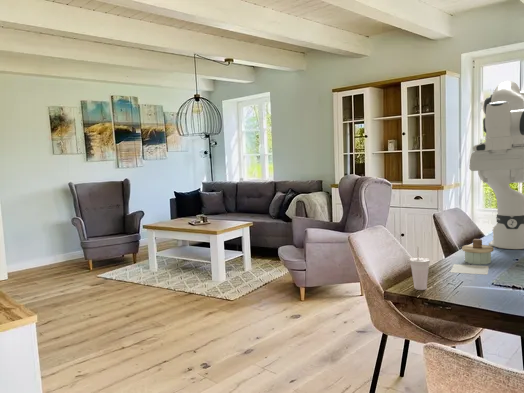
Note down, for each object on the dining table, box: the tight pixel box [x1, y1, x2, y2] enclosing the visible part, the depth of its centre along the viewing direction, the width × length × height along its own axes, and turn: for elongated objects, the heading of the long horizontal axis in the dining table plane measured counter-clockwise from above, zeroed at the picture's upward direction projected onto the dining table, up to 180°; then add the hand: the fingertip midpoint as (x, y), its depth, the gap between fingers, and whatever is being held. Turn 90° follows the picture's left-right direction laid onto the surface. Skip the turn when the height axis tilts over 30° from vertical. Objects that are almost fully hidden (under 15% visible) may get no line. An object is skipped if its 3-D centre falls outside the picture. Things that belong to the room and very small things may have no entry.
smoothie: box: [409, 246, 431, 291], centre depth 146 cm, size 6×6×14 cm
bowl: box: [464, 251, 492, 265], centre depth 173 cm, size 9×9×5 cm
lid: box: [461, 238, 495, 253], centre depth 173 cm, size 11×11×4 cm
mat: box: [450, 263, 490, 276], centre depth 163 cm, size 12×12×1 cm
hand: (499, 182), depth 168 cm, fingers open, 8 cm apart
